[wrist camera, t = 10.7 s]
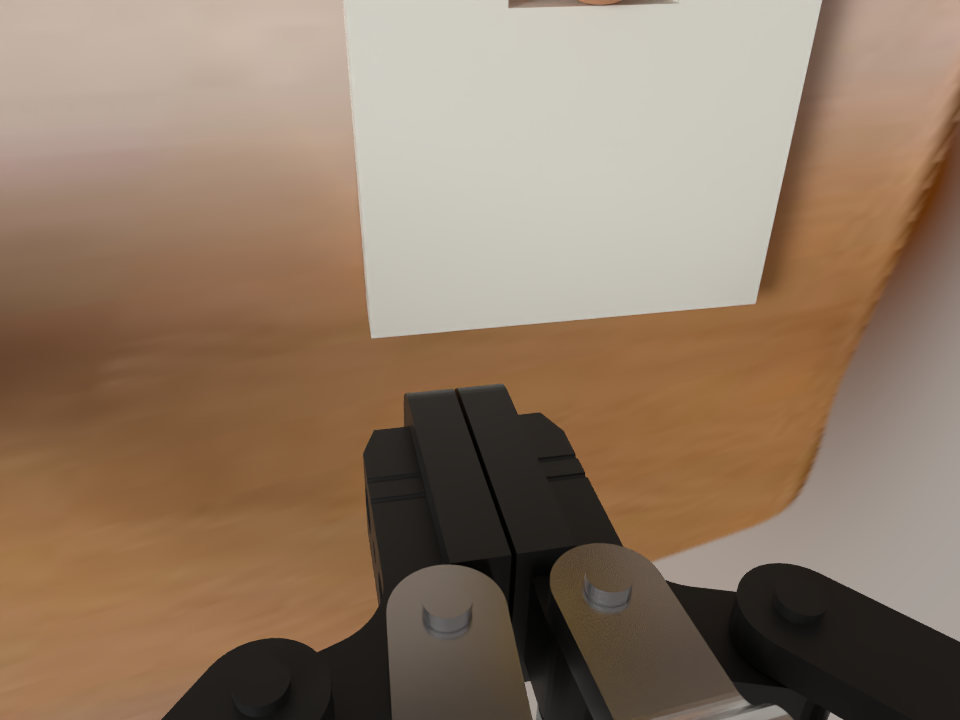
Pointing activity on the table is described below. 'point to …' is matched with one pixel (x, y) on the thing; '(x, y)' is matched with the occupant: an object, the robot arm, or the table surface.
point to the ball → (599, 1)
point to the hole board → (568, 154)
